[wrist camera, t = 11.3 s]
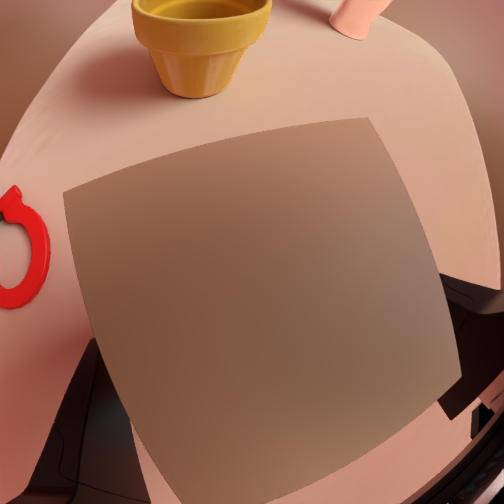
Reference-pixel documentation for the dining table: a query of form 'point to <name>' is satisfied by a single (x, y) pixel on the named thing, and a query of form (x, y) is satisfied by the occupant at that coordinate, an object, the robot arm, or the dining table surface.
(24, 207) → the tow hook
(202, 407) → the walnut block
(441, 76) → the dining table surface
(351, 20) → the beer glass
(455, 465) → the robot arm
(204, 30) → the plant pot
